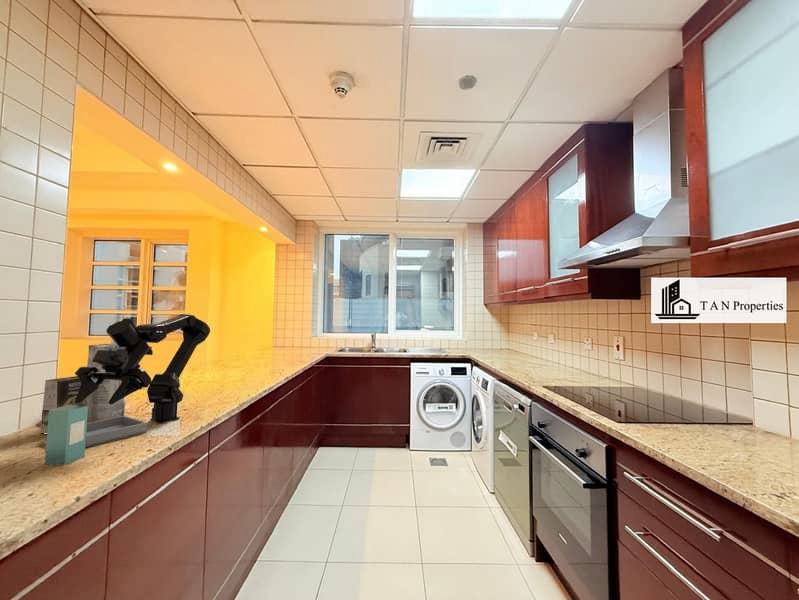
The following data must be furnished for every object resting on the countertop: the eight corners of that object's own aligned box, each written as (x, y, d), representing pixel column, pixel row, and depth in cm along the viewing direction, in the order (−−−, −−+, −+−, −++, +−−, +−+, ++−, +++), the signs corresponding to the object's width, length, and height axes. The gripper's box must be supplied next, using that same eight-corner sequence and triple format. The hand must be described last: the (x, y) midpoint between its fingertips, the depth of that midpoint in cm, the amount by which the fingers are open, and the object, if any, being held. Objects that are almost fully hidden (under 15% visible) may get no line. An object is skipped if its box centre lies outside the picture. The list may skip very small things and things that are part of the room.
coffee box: (55, 436, 101) (60, 381, 102) (39, 434, 102) (43, 379, 103) (89, 427, 110) (93, 376, 111) (73, 425, 111) (77, 375, 112)
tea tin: (65, 456, 88) (69, 404, 89) (84, 457, 88) (88, 405, 88) (44, 464, 83) (49, 409, 84) (64, 465, 83) (69, 410, 83)
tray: (123, 424, 113) (124, 415, 113) (146, 432, 107) (147, 422, 107) (49, 441, 97) (49, 430, 97) (70, 451, 91) (71, 440, 91)
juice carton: (99, 425, 112) (105, 342, 113) (78, 421, 115) (84, 340, 116) (128, 418, 120) (134, 340, 121) (108, 415, 123) (113, 339, 125)
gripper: (84, 338, 99) (39, 384, 87) (146, 340, 98) (109, 387, 87) (106, 362, 106) (67, 407, 95) (164, 364, 106) (132, 410, 94)
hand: (93, 403), depth 92 cm, fingers open, 9 cm apart
